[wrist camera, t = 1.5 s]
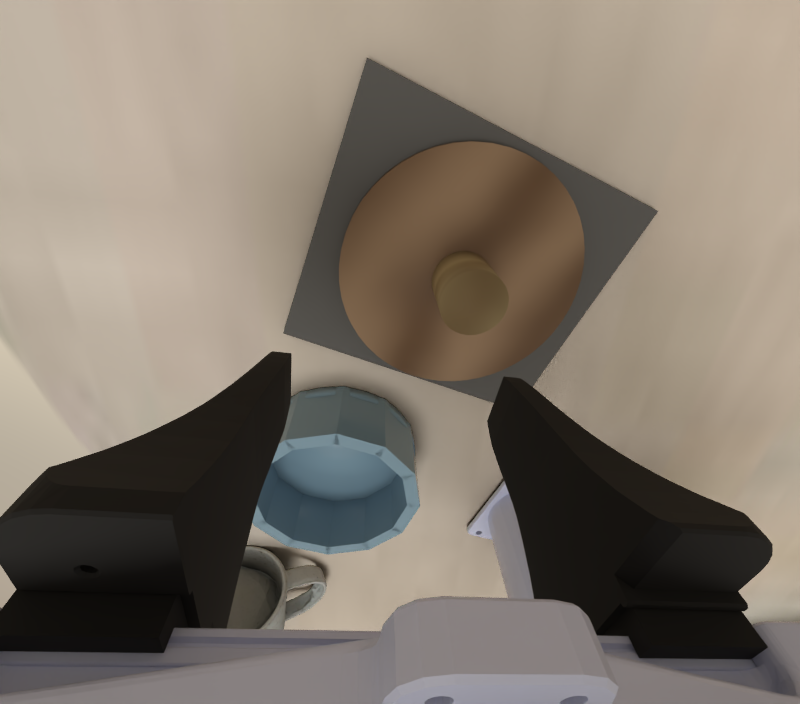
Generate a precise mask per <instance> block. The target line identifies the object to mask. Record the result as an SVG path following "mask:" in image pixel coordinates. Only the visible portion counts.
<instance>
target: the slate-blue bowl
mask: <svg viewBox="0 0 800 704" xmlns="http://www.w3.org/2000/svg"><path fill="white" fill-rule="evenodd" d="M419 507H420V501H419V491H418V482H417V472H416V462H415V445H414V438H413V433H412V430H411V425H410V424H409V423H408V422H407V421H406V419H405V418H404V416H403V415H402V414H401V413H400V412H399V411H398V410H397V409H396V408H395V407H394V406H392V405H391V404H390V403H388V402H387V401H386V400H385V399H384V398H380V397H378V396H376V395H373V394H371V393H368V392H365V391H361V390H357V389H352V388H348V387H345V386H341V387H324V388H317V389H312V390H308V391H301V392H299V393H297V394H296V395H294V396H292V397H291V403H290V408H289V412H288V416H287V421H286V425H285V429H284V432H283V435H282V437H281V440H280V443H279V445H278V448H277V451H276V453H275V456H274V458H273V461H272V464H271V466H270V469H269V472H268V474H267V477H266V479H265V482H264V485H263V487H262V490H261V493H260V496H259V499H258V503H257V506H256V510H255V514H254V518H253V521H252V522H253V524H254V526H256V527H257V528H259V529H260V530H262V531H264V532H265V533H267V534H268V535H270V536H272V537H273V538H275V539H276V540H278V541H279V542H281V543H283V544H284V545H286V546H289V547H294V548H299V549H304V550H309V551H314V552H319V553H324V554H335V553H344V552H353V551H361V550H369V549H371V548H373V547H375V546H377V545H379V544H381V543H383V542H385V541H387V540H389V539H391V538H393V537H395V536H397V535H399V534H401V533H402V532H403V531H404V529H405V528H406V526H407V525H408V523H409V522H410V520H411V519H412V517H413V516H414V514H415V513H416V511H417V510H418V508H419Z"/></svg>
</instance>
